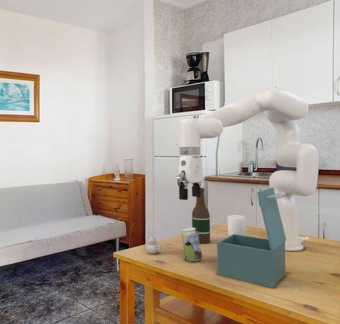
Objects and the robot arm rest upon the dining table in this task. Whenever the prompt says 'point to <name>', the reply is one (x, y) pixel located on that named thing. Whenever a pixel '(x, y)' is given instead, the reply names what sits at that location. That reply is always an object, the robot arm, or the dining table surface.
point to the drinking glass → (236, 225)
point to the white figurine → (152, 245)
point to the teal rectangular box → (250, 260)
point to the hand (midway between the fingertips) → (190, 198)
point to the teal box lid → (272, 216)
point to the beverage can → (191, 244)
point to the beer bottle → (201, 219)
